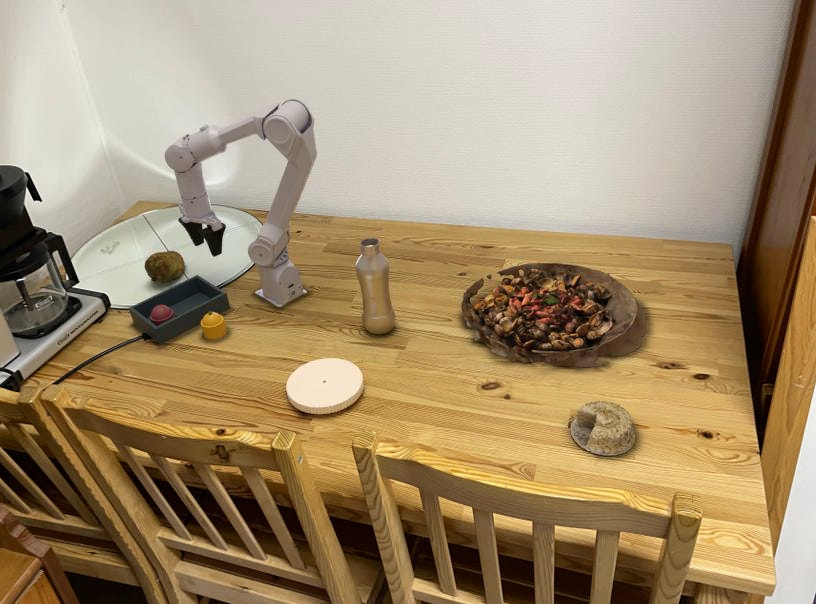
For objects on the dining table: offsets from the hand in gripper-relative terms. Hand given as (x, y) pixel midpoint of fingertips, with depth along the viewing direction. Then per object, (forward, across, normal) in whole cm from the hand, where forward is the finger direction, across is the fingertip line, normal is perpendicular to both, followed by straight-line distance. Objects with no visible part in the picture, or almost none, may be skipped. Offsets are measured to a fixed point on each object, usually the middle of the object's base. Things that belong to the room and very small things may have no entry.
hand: (208, 249), depth 162 cm
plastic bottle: (+10, +41, +13) cm, 44 cm away
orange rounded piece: (+10, +16, -10) cm, 22 cm away
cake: (+10, +90, +16) cm, 92 cm away
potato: (+11, -14, -5) cm, 18 cm away
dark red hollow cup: (+10, +5, -16) cm, 20 cm away
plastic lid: (+10, +48, -7) cm, 50 cm away
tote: (+10, +4, -12) cm, 16 cm away
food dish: (+10, +65, +37) cm, 76 cm away
